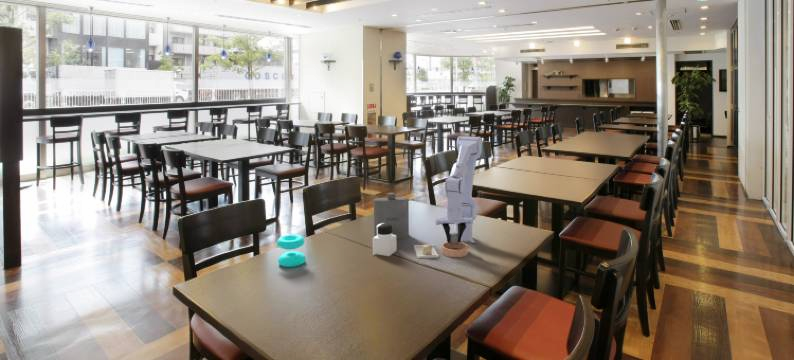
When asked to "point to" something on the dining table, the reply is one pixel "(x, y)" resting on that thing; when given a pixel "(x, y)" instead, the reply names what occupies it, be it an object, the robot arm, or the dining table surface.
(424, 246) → the sandstone pebble
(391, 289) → the dining table surface
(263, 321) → the dining table surface
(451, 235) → the grey rounded short piece
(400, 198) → the flask
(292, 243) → the donuts
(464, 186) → the robot arm
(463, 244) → the terracotta bowl
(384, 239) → the medicine bottle
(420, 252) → the parts tray
